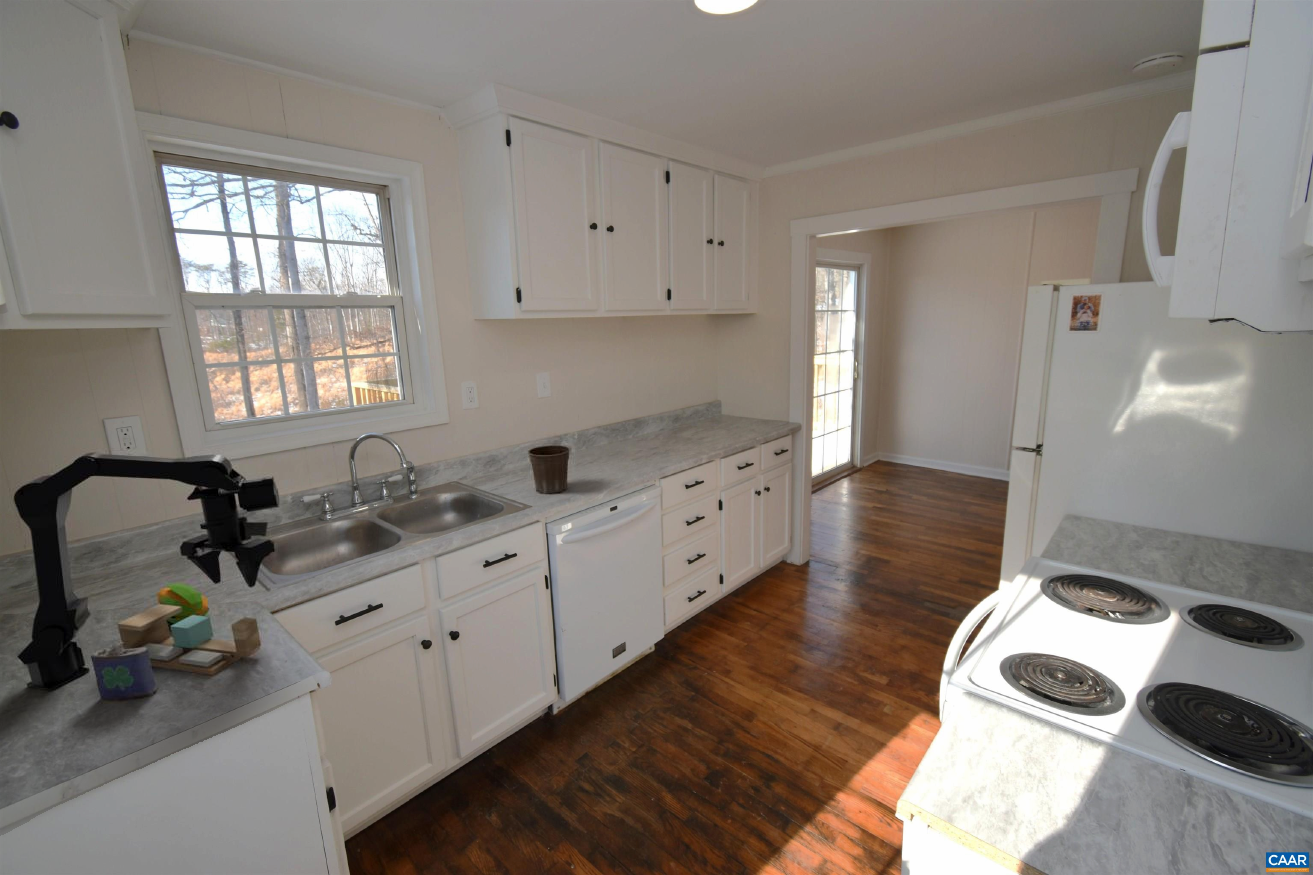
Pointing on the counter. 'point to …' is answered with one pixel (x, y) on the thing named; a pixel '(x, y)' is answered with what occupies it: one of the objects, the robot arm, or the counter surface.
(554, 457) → the plant pot
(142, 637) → the board
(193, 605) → the corn
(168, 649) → the strip
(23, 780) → the counter surface
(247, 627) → the strip
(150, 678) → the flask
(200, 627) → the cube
